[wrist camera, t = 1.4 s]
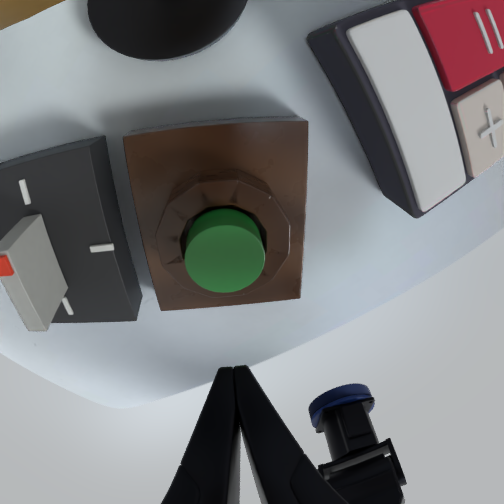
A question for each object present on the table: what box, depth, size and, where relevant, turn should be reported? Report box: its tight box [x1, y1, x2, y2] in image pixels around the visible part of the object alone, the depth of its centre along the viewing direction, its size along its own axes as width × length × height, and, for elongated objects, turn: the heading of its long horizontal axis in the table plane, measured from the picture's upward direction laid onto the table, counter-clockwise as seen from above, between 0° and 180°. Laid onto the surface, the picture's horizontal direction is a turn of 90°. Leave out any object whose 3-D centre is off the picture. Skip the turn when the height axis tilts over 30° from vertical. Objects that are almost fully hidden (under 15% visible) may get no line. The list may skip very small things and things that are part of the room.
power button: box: [184, 208, 265, 293], centre depth 15 cm, size 4×4×2 cm
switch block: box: [123, 117, 308, 311], centre depth 16 cm, size 11×9×4 cm
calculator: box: [308, 0, 504, 218], centre depth 13 cm, size 11×4×15 cm
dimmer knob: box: [0, 214, 68, 331], centre depth 13 cm, size 5×1×4 cm, turn 2°
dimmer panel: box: [0, 136, 142, 323], centre depth 16 cm, size 11×9×3 cm
